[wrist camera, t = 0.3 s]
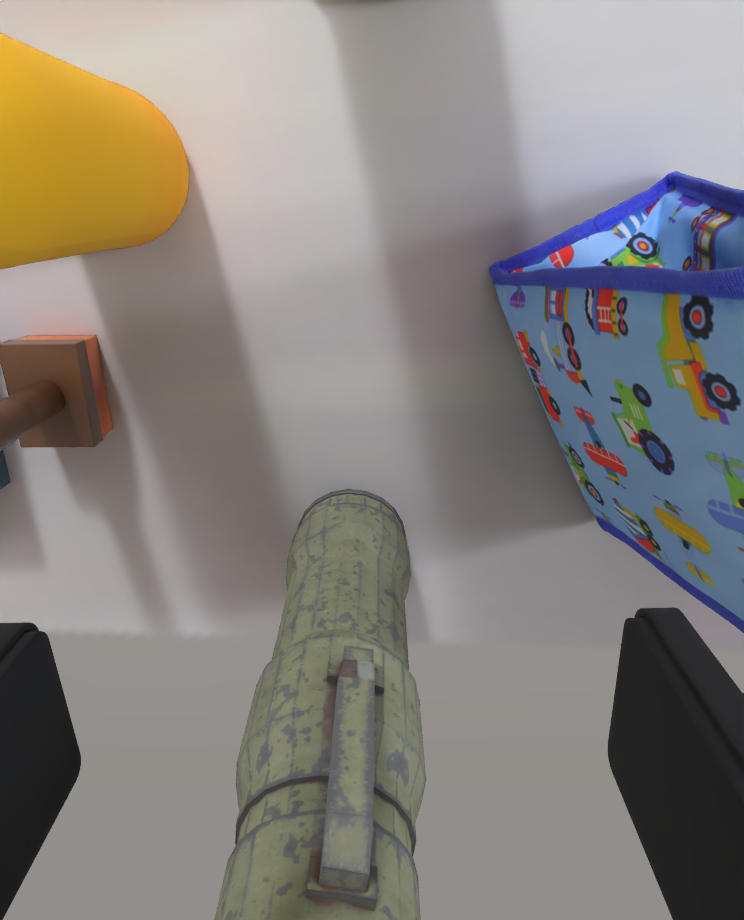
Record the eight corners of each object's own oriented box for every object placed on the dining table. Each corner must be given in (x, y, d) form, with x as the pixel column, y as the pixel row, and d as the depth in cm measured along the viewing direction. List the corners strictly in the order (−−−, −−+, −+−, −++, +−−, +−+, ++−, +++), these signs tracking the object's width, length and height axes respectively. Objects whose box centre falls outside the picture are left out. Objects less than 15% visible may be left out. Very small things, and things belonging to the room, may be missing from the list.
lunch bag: (764, 449, 47) (1270, 775, 20) (591, 524, 50) (839, 901, 23) (674, 165, 40) (1274, 92, 13) (477, 269, 42) (644, 385, 16)
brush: (24, 334, 44) (-102, 381, 33) (97, 333, 44) (-3, 380, 33) (45, 430, 47) (-64, 505, 36) (114, 430, 47) (28, 504, 35)
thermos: (290, 595, 52) (146, 1233, 20) (301, 465, 48) (137, 1015, 16) (396, 606, 53) (423, 1252, 20) (416, 478, 48) (491, 1044, 16)
